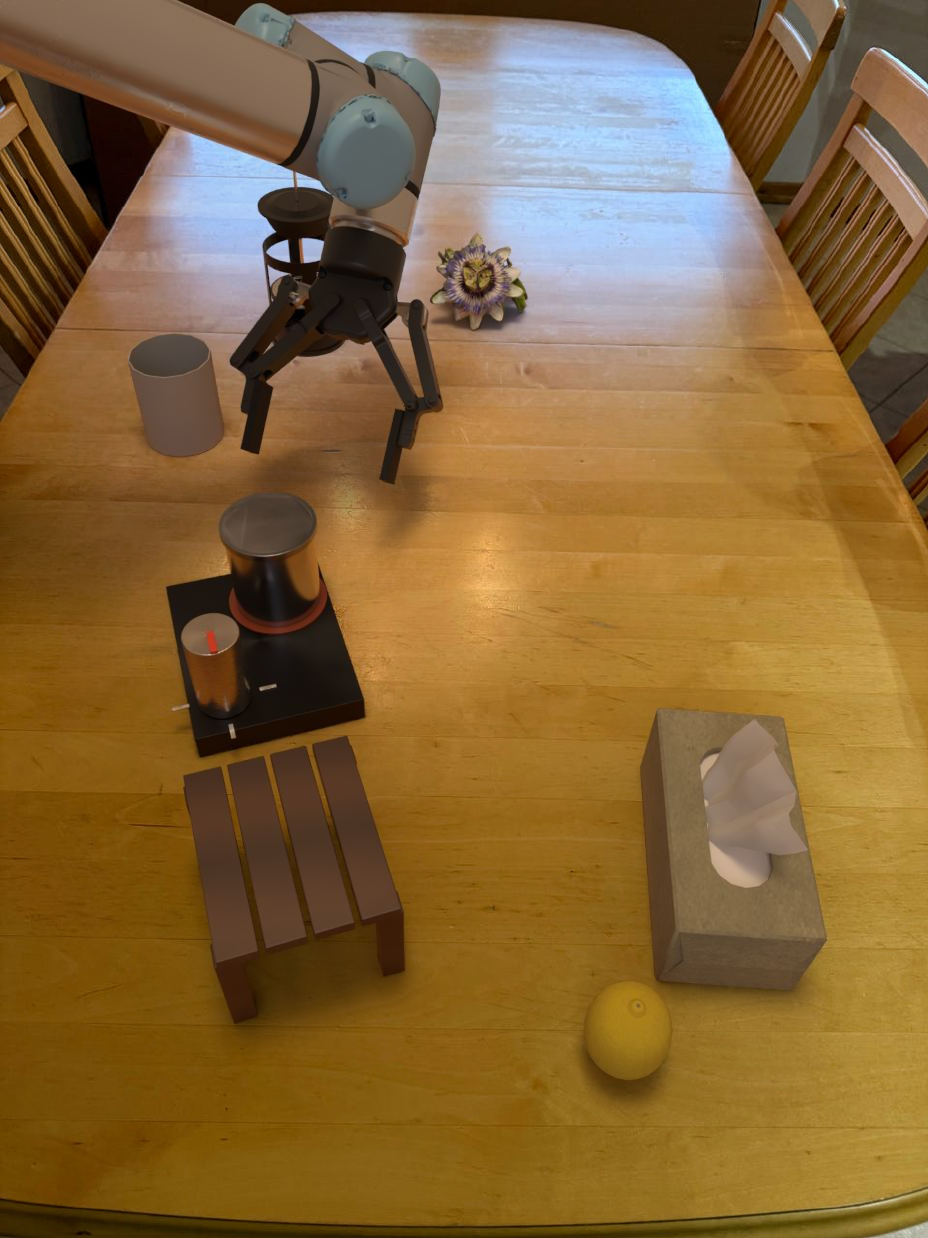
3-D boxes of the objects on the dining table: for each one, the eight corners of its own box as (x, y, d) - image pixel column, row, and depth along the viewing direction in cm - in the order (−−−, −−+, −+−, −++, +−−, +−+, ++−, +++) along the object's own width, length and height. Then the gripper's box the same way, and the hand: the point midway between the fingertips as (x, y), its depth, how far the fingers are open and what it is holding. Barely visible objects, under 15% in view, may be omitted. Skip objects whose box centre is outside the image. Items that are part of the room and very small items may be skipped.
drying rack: (202, 849, 75) (179, 775, 68) (356, 808, 78) (350, 734, 71) (234, 1027, 66) (211, 964, 59) (406, 973, 69) (405, 907, 62)
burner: (221, 575, 92) (221, 574, 92) (315, 557, 94) (315, 555, 94) (238, 644, 86) (238, 642, 86) (337, 622, 88) (337, 621, 88)
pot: (225, 575, 91) (211, 500, 85) (313, 557, 93) (305, 483, 87) (241, 638, 86) (227, 564, 80) (333, 618, 88) (326, 545, 82)
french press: (272, 361, 120) (249, 170, 103) (260, 321, 126) (236, 134, 109) (367, 348, 123) (359, 160, 106) (350, 310, 129) (340, 126, 112)
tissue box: (794, 996, 69) (870, 888, 58) (654, 985, 69) (702, 875, 58) (757, 771, 82) (813, 645, 70) (639, 762, 82) (676, 636, 71)
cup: (131, 437, 109) (110, 358, 102) (185, 402, 114) (169, 324, 107) (186, 466, 106) (168, 387, 99) (239, 429, 111) (227, 351, 103)
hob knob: (194, 684, 83) (176, 616, 77) (246, 672, 84) (233, 605, 78) (202, 724, 80) (184, 658, 74) (256, 711, 81) (243, 645, 75)
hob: (156, 607, 92) (150, 587, 90) (317, 574, 96) (315, 555, 94) (184, 769, 80) (179, 750, 78) (367, 724, 84) (366, 705, 82)
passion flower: (473, 363, 131) (424, 307, 122) (460, 307, 137) (412, 249, 127) (547, 321, 127) (503, 259, 118) (531, 265, 133) (487, 202, 123)
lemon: (658, 1104, 64) (682, 1060, 58) (573, 1087, 65) (588, 1042, 59) (661, 1019, 68) (684, 970, 62) (581, 1004, 68) (596, 954, 62)
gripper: (505, 275, 92) (453, 499, 93) (257, 231, 96) (211, 445, 97) (493, 246, 85) (437, 490, 86) (225, 200, 89) (176, 432, 90)
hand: (317, 467), depth 91 cm, fingers open, 13 cm apart
